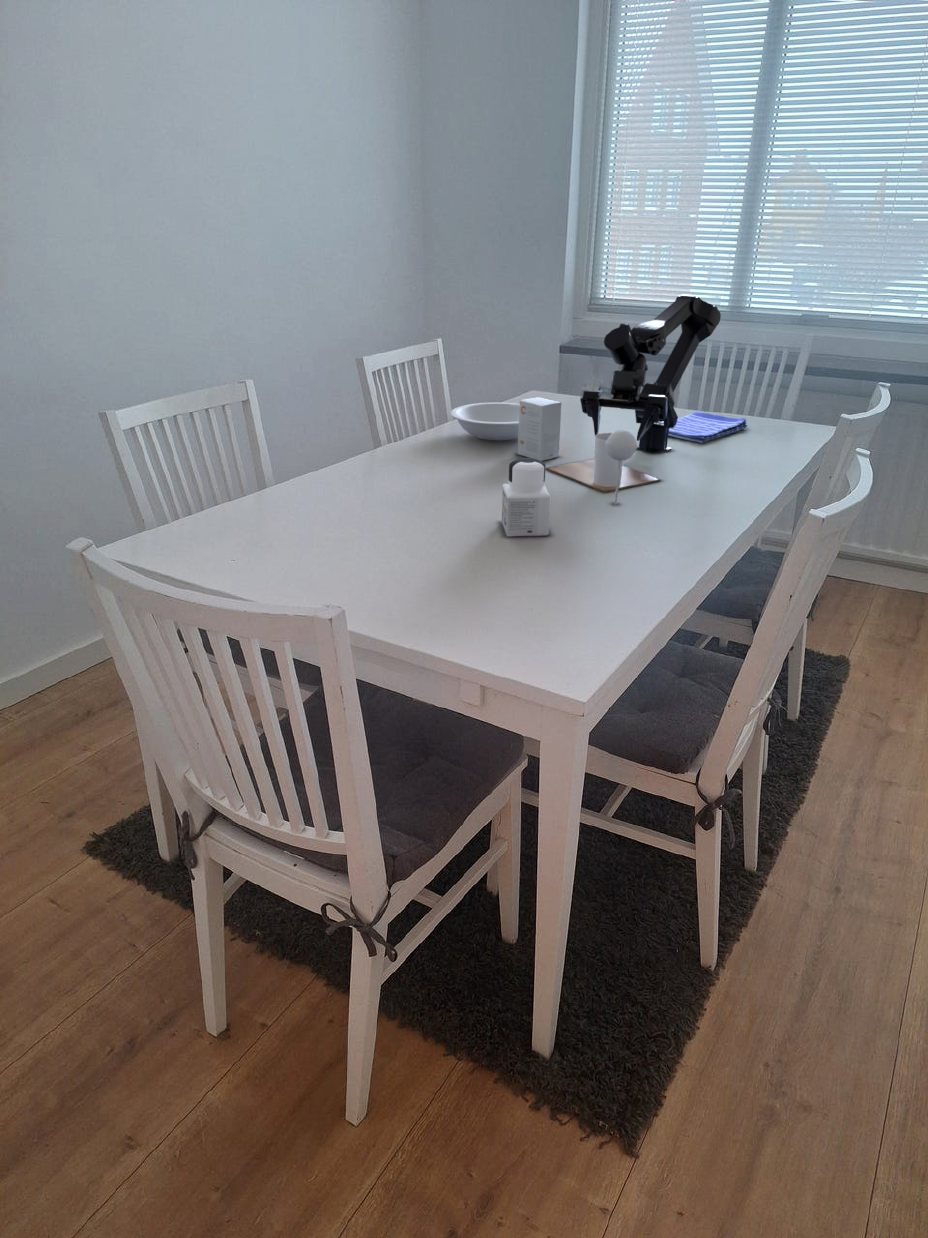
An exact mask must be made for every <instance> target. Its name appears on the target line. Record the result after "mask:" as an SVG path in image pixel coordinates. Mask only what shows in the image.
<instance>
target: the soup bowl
mask: <svg viewBox="0 0 928 1238" xmlns="http://www.w3.org/2000/svg"><path fill="white" fill-rule="evenodd" d="M519 405H520V403H516V402H515V403H514V402H478V403H469V404H464V405H461V406H458V407H455V408H453V409H452V410H451V411H450V415H451V417H452V418H453V419H456V420H457V422H458V424H459V425H460V427H461V428H462V429H463V430H464V432H467V434H469V435H470V436H473V437H474V438H478V439H481V440H487V441H509V440H510V441H511V440H515V439H518V431H519Z"/></svg>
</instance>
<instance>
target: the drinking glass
mask: <svg viewBox="0 0 928 1238" xmlns="http://www.w3.org/2000/svg"><path fill="white" fill-rule="evenodd" d="M612 433H613V432H601V433H598V434H597V435H596V436H595V435H594V455H593V456H594V457H593V459H594V484H596V485H599V486H604V487H614V486H616V483H617V472H618V462H619V461H618V460H615V459H613V458H611V457H610V456H609V454H608V452H607V450H606V446H605V443H606V440H607V439H608V438H609V436H610V435H611V434H612ZM624 461H625V460H624ZM624 461H621V466H620V476H619V485H620V483H621V476H622V469H623V466H624Z"/></svg>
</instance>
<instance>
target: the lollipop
mask: <svg viewBox="0 0 928 1238" xmlns="http://www.w3.org/2000/svg"><path fill="white" fill-rule="evenodd" d="M611 433H612V434H611V435H610V436H609V438H608V439H607V440H606V443H605V446H606V450H607V452H608V454H609V456H610V457H611V458H613V459H615V460H618V461H619V462H618V472H617V483H616V490H615V497H614V506H617V505H618V496H619V490H618V486H619V476H620V466H621V461H627V460H629V459H630V458H632V457H633V456H634V454H635V453H636V450H637V445H638V441H637V438H636V437H635V436H634V434H633V433H631V432H630V431H628V430H626V429H618V430H616V431H614V432H611Z"/></svg>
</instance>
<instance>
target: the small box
mask: <svg viewBox="0 0 928 1238" xmlns="http://www.w3.org/2000/svg"><path fill="white" fill-rule="evenodd" d="M519 404H520V405H519V431H518V438H517V455H520V456H523V457H525V458H534V459H538V460H540V461H542V462H544V461H546V460H552V459H555V458H558V457H560V440H561V439H560V438H561V421H562V420H561V419H562V401H556V400H552V399H547V398H543V397H539V396H536V397H532V398H525V399H519Z"/></svg>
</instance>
